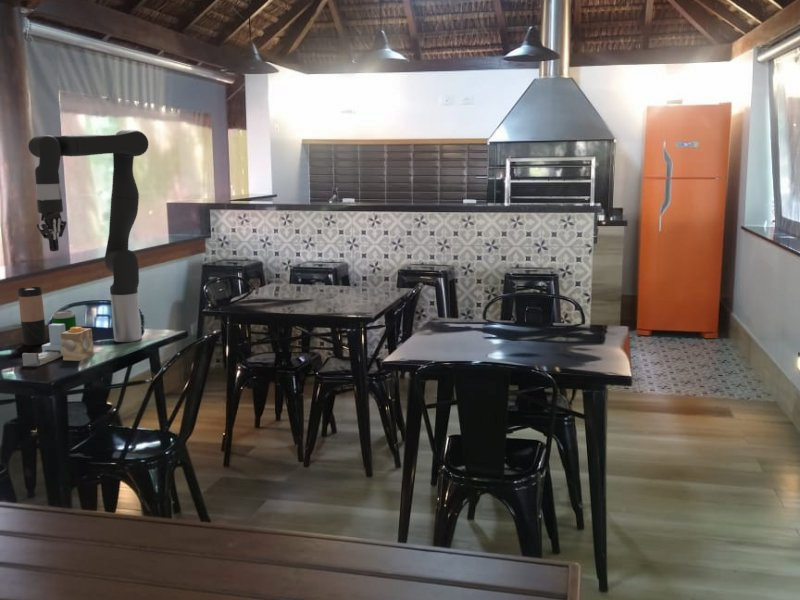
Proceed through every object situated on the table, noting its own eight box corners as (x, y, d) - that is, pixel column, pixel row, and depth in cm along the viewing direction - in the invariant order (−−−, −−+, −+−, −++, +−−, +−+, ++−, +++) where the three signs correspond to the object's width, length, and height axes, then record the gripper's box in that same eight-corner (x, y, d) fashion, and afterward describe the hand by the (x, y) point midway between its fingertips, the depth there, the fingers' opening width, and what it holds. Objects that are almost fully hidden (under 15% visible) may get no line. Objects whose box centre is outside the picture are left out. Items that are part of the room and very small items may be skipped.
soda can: (81, 344, 269) (78, 311, 266) (59, 348, 263) (56, 314, 261) (72, 341, 274) (69, 308, 272) (51, 345, 269) (48, 311, 267)
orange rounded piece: (75, 341, 252) (74, 326, 251) (85, 341, 251) (84, 326, 250) (69, 343, 248) (67, 328, 247) (79, 344, 248) (77, 329, 247)
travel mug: (37, 346, 267) (31, 290, 264) (18, 345, 269) (12, 289, 265) (51, 341, 275) (46, 286, 271) (32, 340, 276) (27, 286, 273)
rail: (65, 348, 263) (64, 337, 262) (78, 349, 262) (77, 338, 261) (23, 366, 241) (22, 353, 240) (37, 366, 240) (36, 354, 239)
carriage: (55, 349, 259) (52, 322, 257) (75, 349, 258) (73, 322, 256) (42, 354, 252) (39, 326, 250) (63, 354, 251) (60, 326, 249)
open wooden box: (77, 354, 255) (75, 328, 253) (94, 354, 254) (92, 328, 252) (62, 360, 247) (60, 333, 245) (80, 361, 246) (78, 334, 244)
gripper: (51, 197, 254) (56, 248, 257) (25, 199, 241) (31, 253, 244) (71, 197, 252) (76, 248, 255) (47, 199, 240) (52, 253, 243)
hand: (54, 250), depth 250 cm, fingers closed
